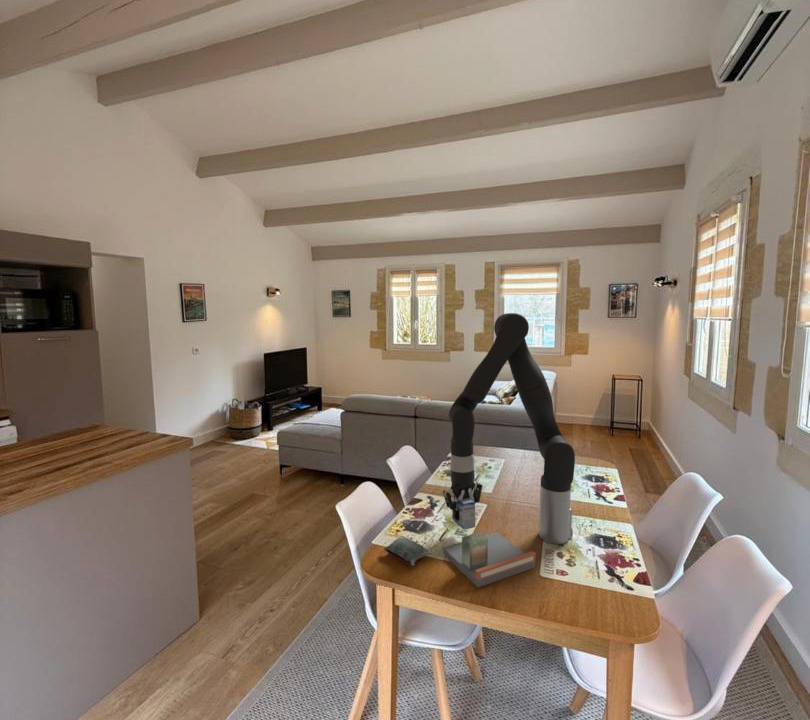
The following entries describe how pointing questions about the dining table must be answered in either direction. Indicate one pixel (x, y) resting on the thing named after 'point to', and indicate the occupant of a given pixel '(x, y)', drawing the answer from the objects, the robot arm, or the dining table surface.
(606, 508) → the dining table surface
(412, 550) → the grey bean bag
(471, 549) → the sage tin
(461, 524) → the medicine box
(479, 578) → the shelf
